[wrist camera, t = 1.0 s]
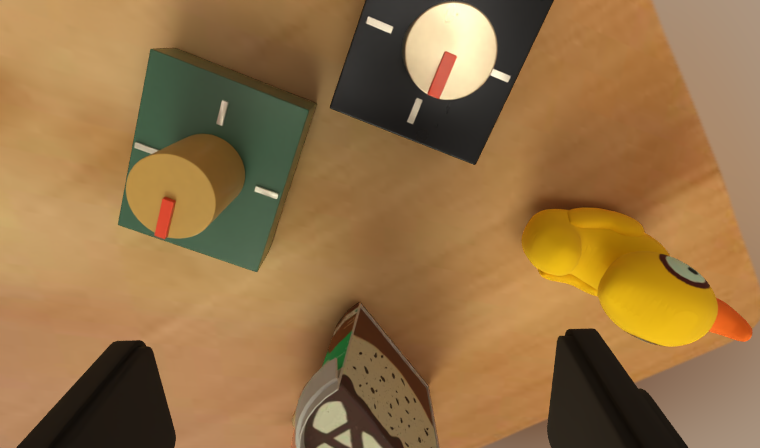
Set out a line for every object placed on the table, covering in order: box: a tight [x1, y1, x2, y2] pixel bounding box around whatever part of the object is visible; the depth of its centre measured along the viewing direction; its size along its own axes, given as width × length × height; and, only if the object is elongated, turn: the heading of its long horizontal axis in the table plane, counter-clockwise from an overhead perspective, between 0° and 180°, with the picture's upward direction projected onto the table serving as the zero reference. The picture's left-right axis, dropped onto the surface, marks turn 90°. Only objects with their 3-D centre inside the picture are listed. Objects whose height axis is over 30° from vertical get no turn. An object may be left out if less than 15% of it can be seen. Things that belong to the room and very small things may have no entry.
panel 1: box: [118, 48, 317, 272], centre depth 29 cm, size 11×9×3 cm
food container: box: [295, 302, 439, 448], centre depth 31 cm, size 12×6×10 cm, turn 35°
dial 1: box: [126, 134, 245, 239], centre depth 25 cm, size 4×4×5 cm
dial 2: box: [402, 1, 497, 100], centre depth 22 cm, size 4×4×5 cm
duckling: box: [522, 208, 752, 346], centre depth 27 cm, size 11×5×10 cm, turn 71°
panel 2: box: [330, 0, 554, 165], centre depth 26 cm, size 10×9×3 cm
